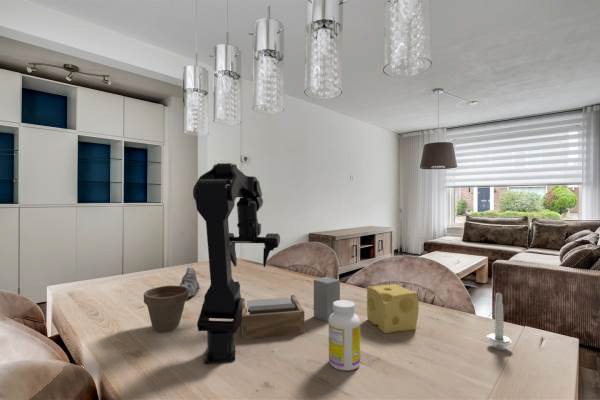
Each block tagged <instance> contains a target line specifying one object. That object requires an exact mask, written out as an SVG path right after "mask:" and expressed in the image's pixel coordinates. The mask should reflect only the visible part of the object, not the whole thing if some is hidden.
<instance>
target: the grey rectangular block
mask: <svg viewBox="0 0 600 400" xmlns="http://www.w3.org/2000/svg"><path fill="white" fill-rule="evenodd" d="M338 300H341V280H340V279H336V278H333V277H330V276H324V277H320V278H316V279H313V317H314V318H316V319H319V320H321V321H324V322H327V323H329V317H330V315H331V314H332V313H334V310H333V302H335V301H338Z"/></svg>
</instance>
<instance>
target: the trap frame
mask: <svg viewBox="0 0 600 400" xmlns="http://www.w3.org/2000/svg"><path fill="white" fill-rule="evenodd" d="M241 298H242V299H243V310H242V322H241V337H242V338H241V339H254V338H255V339H256V338H262V337H264V338H265V337H275V336H276V337H277V336H287V335H297V334H304V333H305V310H304V308H303V307H302V305H301V304H300V302H299V301H298V299H297V298H296V296H295V295H294V294H290V300H291V302H292V303H293V304H294V306H295V311H287V312H274V313H261V314H247V313H248V307H246V300H245V297H244V298H243V297H241Z"/></svg>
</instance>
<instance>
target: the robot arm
mask: <svg viewBox="0 0 600 400" xmlns="http://www.w3.org/2000/svg"><path fill="white" fill-rule="evenodd" d="M192 196H193V199H194V200H195V206H196V211H197V213H198V214H199V215H200V216H201V218H203V220H204V222H205V227H206V238H207V239H206V240H207V252H208V254H207V255H208V265H209V266H208V267H209V276H210V285H209V288H208V289H207V291H206V292H205V294H204V296H203V298H204V299H203V302H202V305H201V310H200V313H199V316H198V319H197V323H196V325H197V326H196V327H197V331H198V332H206V334H207V335H206V338H207V339H206V344H207V345H206V349H205V355H204V360H203V363H204V364H215V363H224V362H234V361H236V345H235V344H234V333H236V332H237V331H239V328H240V327H241V326H242V324H241V322H242V310H243V299H242V298H243V297H242V295H241V284H240V283H239V281H235V280H234V279H233V274H232V272H233V271H232V264H233V266H234V267H237V266H238V261H237V254H236V252H237V251H236V244H263V245H264V247H263V253H262V254H263V261H262V266H263V268H266V265H267V262H268V259H269V255H270V252H271V251H272V252H273V251H274V250H275V249H277V248H279V245H280V242H281V236H280V234H278V233H270V232H269V233H266V234H265V236H260V235H261V234H262V223H259V220H258V212H259V210H260V209H261V208H262V207H263V204H264V199H263V198H262V196H263V193H262V188H261V185H260V181H259V180H258V179H257V177H256V176H253V175H246V174H245V173H243V171H241V170H240V169H239V168H238V166H237V164H234V163H232V162H231V163H228V162H226V163H225V162H224V163H221V162H220V163H216V164H214V165H212V168H211V169H210V170H208V171H207V172H205V173H204V174H202V175H201V176H199V178H198V179H197V181H196V182H195V185H194V186H193V190H192ZM237 198H238V199H239V200H238V201H237V202H236V203H235V201H236V200H237ZM235 204H236V205H235ZM235 206H236V208H237V209H236V210H237V224H236V226H237V228H238V236H235V235H234V233H233V232H230V230H229V228H230V227H229V217H230V215H231V213H232V211H233V209H234V208H235ZM210 319H217V320H210ZM218 319H220V320H218ZM222 319H223V320H222Z"/></svg>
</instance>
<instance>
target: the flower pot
mask: <svg viewBox="0 0 600 400" xmlns="http://www.w3.org/2000/svg"><path fill="white" fill-rule="evenodd" d="M189 298H190V297H189V289H188V288H187V287H184V286H180V285H162V286H157V287H152V288H150V289H147V290H145V292H144V293H143V303H144V304H145V305H146V306H147V310H148V314H149V318H150V323H151V325H152V326H151V327H152V329H153V330H154V331H155V332H159V333H160V332H161V333H162V332H163V333H165V332H170V331H172V330H173V331H174V330H175V329H176V328H178V327H179V326H180V322H181V320H182V316H183V311H184V307H185V304H186V301H187V300H188V299H189Z"/></svg>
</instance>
